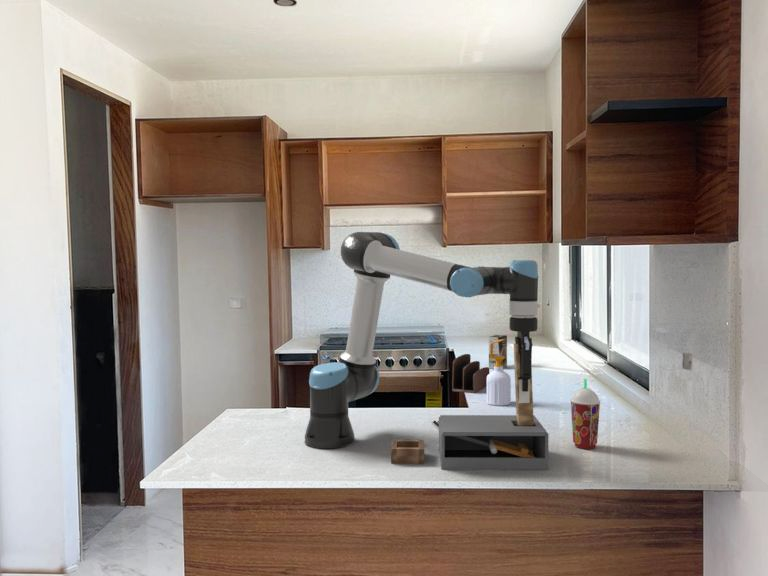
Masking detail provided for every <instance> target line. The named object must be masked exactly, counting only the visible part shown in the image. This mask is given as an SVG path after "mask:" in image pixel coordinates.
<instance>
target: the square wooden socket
mask: <svg viewBox="0 0 768 576" xmlns="http://www.w3.org/2000/svg"><path fill="white" fill-rule="evenodd" d="M424 442H425V439H391V447H390V463H391V464H392V465H393V464H395V465H396V464H400V465H401V464H402V465H403V464H405V465H406V464H409V465H410V464H412V465H413V464H414V465H415V464H417V465H418V464H419V465H420V464H422V465H423V464H425V444H424Z"/></svg>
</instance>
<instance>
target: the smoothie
mask: <svg viewBox="0 0 768 576" xmlns="http://www.w3.org/2000/svg"><path fill="white" fill-rule="evenodd" d="M583 382H584V383H583V384H584V385H583V386H584V388H583V387H582V388H580V389H577V390H576V391H575V392H574V393H573V395H572V397H571V398H570V408H571V409H570V410H571V414H570V415H571V428H572V441H573V443H574V446H575V447H576V448H578V449H582V450H593V449H595V448H596V446H597V444H598V438H599V437H598V435H599V421H600V409H601V400H600V399H599V397H598V395H597V393H596V391H594V390H592V389H590V388H588V387H587V386H588V385H587V383H588V381H587V378H585V379H584V381H583Z"/></svg>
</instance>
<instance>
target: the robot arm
mask: <svg viewBox="0 0 768 576" xmlns="http://www.w3.org/2000/svg"><path fill="white" fill-rule="evenodd" d="M340 257H341V259H342V261H343V263H344V265H346V266H347V267H348V268H350V269H352V270H353V274H354V275H355V277H356V286H355V293H354V297H353V304H352V309H351V310H352V311H351V315H350V316H351V317H350V322H349V330H348V335H347V342H346V347H345V351H344V352H342V353H341V354H340V356H339V362H338V361H337V362H332V361H331V362H327V363H321V364H318V365H316V366H313V368H311V370H310V372H309V379H308V383H309V411H310V412H309V415H310V416H309V420H308V423H307V427H306V430H305V433H304V444H305V445H306V446H309V447H311V448H316V449H337V448H338V449H339V448H344V447H348V446H350V445H352V444H354V443H355V431H354V428H353V426H352V423H351V421H350V416H349V403H351V402H353V401H356V400H360V399H364V398H366V397H368V396H369V395H371V394H372V393H374V391H376V390H377V388H378V387H379V382H380V373H379V370H378V367H377V366H376V364H377V360H376V358H375V357H374V356H373V353H374V347H375V340H376V334H377V330H378V329H377V328H378V323H379V322H378V321H379V316H380V312H381V311H380V310H381V304H382V297H383V292H384V286H385V283H386V282H387V281H388V280H390V278H391V276H394V277H397V278H401V279H404V280H409V281H412V282H416V283H420V284H424V285H427V286H430V287H434V288H439V289H441V290H442V289H443V290H445V291H450V292H452V293H454V294H456V295H457V296H458V297H463V298H472V297H477V296H484V295H496V294H497V295H509V305H508V306H509V308H508V309H509V312H508V313H509V315H510V317H509V330H510V331H511V332H516V333H517V334H516V335H517V336H515V337H514V342H515V343H514V344H517V345H518V353H519V354H520V377H518V379H519V403H530V378H531V377H532V378H533V374H532V375H531V366H532V358H533V357H532V355H533V353H532V352H533V341H532V340H533V339H532V337H531V335H530V333H532V332H533V333H534V332H537V331H538V329H539V328H538V326H539V325H538V324H539V322H538V319H539V318H538V317H536V316H537V315H538V308H540V306H541V305H540V304H539V303H538V296H539V295H538V294H539V293H538V292H539V291H538V290H539V270H538V267H539V266H538V262H537V261H535V260H533V259H531V260H530V259H528V260H527V259H524V260H523V259H522V260H521V259H519V260H518V259H512V260H510V263H509V266H507V267H506V266H505V267H502V266H501V267H499V266H498V267H497V266H495V267H494V266H477V267H476V266H473V267H472V266H467V265H463V264H458V263H453V262H450V261H446V260H442V259H438V258H434V257H430V256H426V255H422V254H418V253H414V252H409V251H405V250H403V249H401V248H400V245H399V243H398V242H397V240H396V239H395V238H394V237H393V236H392V235H390V234H388V233H383V232H379V231H356V232H353V233H350V234H349V235H347V236H346V237H345V238H344V239H343V241H342V243H341V246H340ZM520 348H521V350H522V351H520Z"/></svg>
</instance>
